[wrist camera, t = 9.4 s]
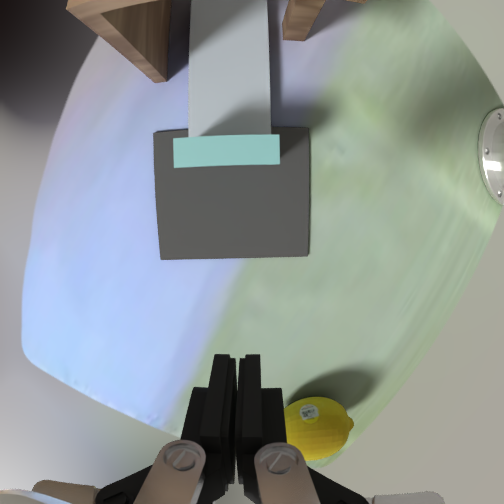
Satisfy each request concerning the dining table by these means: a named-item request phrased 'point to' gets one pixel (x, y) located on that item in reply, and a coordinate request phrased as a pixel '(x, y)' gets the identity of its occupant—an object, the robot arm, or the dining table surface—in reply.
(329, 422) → the lemon
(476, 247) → the dining table surface
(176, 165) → the sled
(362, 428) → the dining table surface
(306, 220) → the mat
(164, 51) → the tunnel
